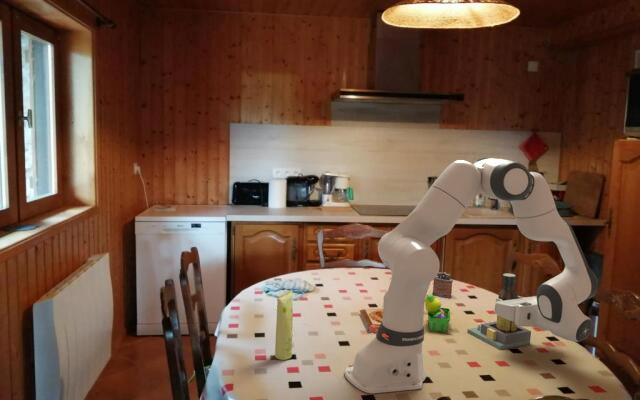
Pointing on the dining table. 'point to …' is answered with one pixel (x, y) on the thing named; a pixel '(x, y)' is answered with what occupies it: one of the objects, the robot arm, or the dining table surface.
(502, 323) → the sauce bottle
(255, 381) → the dining table surface
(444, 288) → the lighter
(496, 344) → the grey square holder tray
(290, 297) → the tube
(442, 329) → the fruit basket
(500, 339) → the socket
